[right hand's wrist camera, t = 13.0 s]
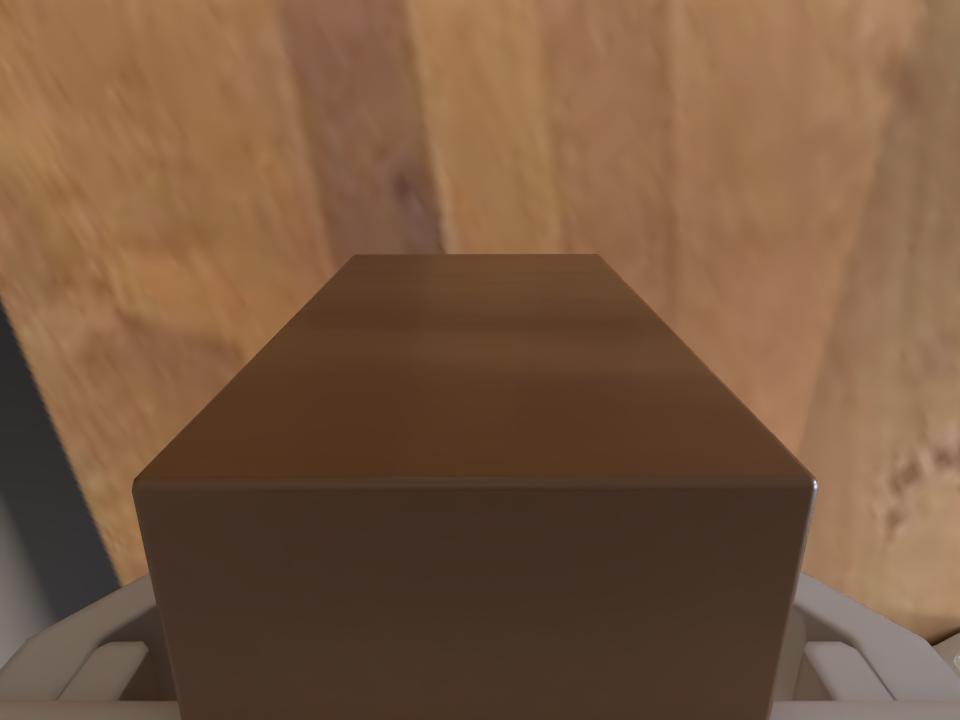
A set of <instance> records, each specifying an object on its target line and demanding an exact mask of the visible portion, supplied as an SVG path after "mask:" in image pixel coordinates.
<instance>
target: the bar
mask: <svg viewBox="0 0 960 720" xmlns="http://www.w3.org/2000/svg"><path fill="white" fill-rule="evenodd" d="M817 489H818V488H817V482H816V479H815V477H814V476H813V475H812V474H811V473H810V472H809V470H808V469H807V468H806V467H805V466H804V465H803V464H802V463H801V462H800V461H799V460H798V459H797V458H796V457H795V456H794V455H793V454H792V453H791V452H790V451H789V450H788V449H787V448H786V447H785V446H784V445H783V444H782V443H781V442H780V441H779V440H778V438H777V437H776V436H775V435H774V434H773V433H772V432H771V431H770V430H769V429H768V428H767V427H766V426H765V425H764V424H763V423H762V422H761V421H760V420H759V419H758V418H757V417H756V416H755V415H754V414H753V413H752V412H751V411H750V410H749V409H748V408H747V407H746V405H745V404H744V403H743V402H742V401H741V400H740V399H739V398H738V397H737V396H736V395H735V394H734V393H733V392H732V391H731V390H730V389H729V388H728V387H727V386H726V385H725V384H724V383H723V382H722V381H721V380H720V379H719V378H718V377H717V376H716V375H715V373H714V372H713V371H712V370H711V369H710V368H709V367H708V366H707V365H706V364H705V363H704V362H703V361H702V360H701V359H700V358H699V357H698V356H697V355H696V354H695V353H694V352H693V351H692V350H691V349H690V348H689V347H688V346H687V345H686V344H685V343H684V341H683V340H682V339H681V338H680V337H679V336H678V335H677V334H676V333H675V332H674V331H673V330H672V329H671V328H670V327H669V326H668V325H667V324H666V323H665V322H664V321H663V320H662V319H661V318H660V317H659V316H658V315H657V314H656V313H655V312H654V311H653V309H652V308H651V307H650V306H649V305H648V304H647V303H646V302H645V301H644V300H643V299H642V298H641V297H640V296H639V295H638V294H637V293H636V292H635V291H634V290H633V289H632V288H631V287H630V286H629V285H628V284H627V283H626V282H625V281H624V280H623V279H622V277H621V276H620V275H619V274H618V273H617V272H616V271H615V270H614V269H613V268H612V267H611V266H610V265H609V264H608V263H607V262H606V261H605V260H604V259H603V258H602V257H601V256H600V255H598V254H450V255H354V256H353V257H352V258H351V259H350V260H349V261H348V262H347V263H346V264H345V265H344V266H343V267H342V268H341V269H340V270H339V271H338V272H337V273H336V274H335V275H334V276H333V277H332V278H331V279H330V280H329V281H328V282H327V283H326V284H325V285H324V286H323V287H322V288H321V289H320V290H319V291H318V292H317V293H316V294H315V295H314V296H313V298H312V299H311V300H310V301H309V302H308V303H307V304H306V305H305V306H304V307H303V308H302V309H301V310H300V311H299V312H298V313H297V314H296V315H295V316H294V317H293V318H292V319H291V320H290V321H289V322H288V323H287V324H286V325H285V326H284V327H283V328H282V329H281V330H280V331H279V332H278V333H277V334H276V335H275V336H274V337H273V338H272V339H271V340H270V341H269V342H268V343H267V344H266V345H265V346H264V347H263V348H262V349H261V351H260V352H259V353H258V354H257V355H256V356H255V357H254V358H253V359H252V360H251V361H250V362H249V363H248V364H247V365H246V366H245V367H244V368H243V369H242V370H241V371H240V372H239V373H238V374H237V375H236V376H235V377H234V378H233V379H232V380H231V381H230V382H229V383H228V384H227V385H226V386H225V387H224V388H223V389H222V390H221V391H220V392H219V393H218V394H217V395H216V396H215V397H214V398H213V399H212V400H211V401H210V402H209V404H208V405H207V406H206V407H205V408H204V409H203V410H202V411H201V412H200V413H199V414H198V415H197V416H196V417H195V418H194V419H193V420H192V421H191V422H190V423H189V424H188V425H187V426H186V427H185V428H184V429H183V430H182V431H181V432H180V433H179V434H178V435H177V436H176V437H175V438H174V439H173V440H172V441H171V442H170V443H169V444H168V445H167V446H166V447H165V448H164V449H163V450H162V451H161V452H160V453H159V454H158V455H157V457H156V458H155V459H154V460H153V461H152V462H151V463H150V464H149V465H148V466H147V467H146V468H145V469H144V470H143V471H142V472H141V473H140V474H139V475H138V476H137V477H136V478H135V479H134V482H133V486H132V494H133V498H134V503H135V508H136V512H137V517H138V521H139V526H140V531H141V535H142V540H143V545H144V549H145V554H146V558H147V563H148V568H149V572H150V577H151V581H152V586H153V591H154V595H155V600H156V605H157V609H158V614H159V618H160V623H161V628H162V632H163V637H164V641H165V646H166V651H167V655H168V660H169V665H170V669H171V674H172V678H173V683H174V688H175V692H176V697H177V702H178V706H179V711H180V715H181V720H770V716H771V711H772V706H773V701H774V697H775V692H776V687H777V682H778V677H779V672H780V668H781V663H782V658H783V653H784V648H785V644H786V639H787V634H788V629H789V624H790V619H791V615H792V610H793V605H794V600H795V595H796V590H797V586H798V581H799V576H800V571H801V566H802V562H803V557H804V552H805V547H806V542H807V537H808V533H809V528H810V523H811V518H812V513H813V509H814V504H815V499H816V494H817Z"/></svg>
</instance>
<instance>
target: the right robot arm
mask: <svg viewBox="0 0 960 720" xmlns="http://www.w3.org/2000/svg"><path fill="white" fill-rule="evenodd" d="M0 720H181V715H180V711H179V706H178V702H177V697H176V692H175V688H174V683H173V678H172V674H171V669H170V665H169V660H168V655H167V651H166V646H165V641H164V637H163V632H162V628H161V623H160V618H159V614H158V609H157V605H156V600H155V595H154V591H153V586H152V581H151V577H150V573H148V574H146V575H144V576H142V577H141V578H139V579H137V580H135V581H133V582H131V583H130V584H128V585H126V586H124V587H122V588H120V589H119V590H117V591H115V592H113V593H111V594H109V595H108V596H106V597H104V598H102V599H100V600H98V601H96V602H95V603H93V604H91V605H89V606H87V607H85V608H84V609H82V610H80V611H78V612H76V613H74V614H73V615H71V616H69V617H67V618H65V619H63V620H62V621H60V622H58V623H56V624H54V625H52V626H51V627H49V628H47V629H45V630H43V631H41V632H40V633H38V634H36V635H34V636H32V637H30V638H29V639H27V640H26V641H25V643H24V644H23V645H22V646H21V647H20V648H19V649H18V651H17V652H16V653H15V654H14V655H13V656H12V657H11V658H10V660H9V661H8V662H7V663H6V664H5V665H4V666H3V668H2V669H1V670H0ZM770 720H960V633H958V634H956V635H954V636H952V637H950V638H948V639H946V640H944V641H943V642H941V643H939V644H937V645H934V646H931V645H930V644H929V643H928V642H927V641H926V640H925V639H923V638H921V637H920V636H918V635H916V634H914V633H912V632H910V631H909V630H907V629H905V628H903V627H901V626H900V625H898V624H896V623H894V622H892V621H890V620H889V619H887V618H885V617H883V616H881V615H880V614H878V613H876V612H874V611H872V610H871V609H869V608H867V607H865V606H863V605H861V604H860V603H858V602H856V601H854V600H852V599H851V598H849V597H847V596H845V595H843V594H842V593H840V592H838V591H836V590H834V589H832V588H831V587H829V586H827V585H825V584H823V583H822V582H820V581H818V580H816V579H814V578H813V577H811V576H809V575H807V574H805V573H803V572H802V571H800V576H799V581H798V586H797V590H796V595H795V600H794V605H793V610H792V615H791V619H790V624H789V629H788V634H787V639H786V644H785V648H784V653H783V658H782V663H781V668H780V672H779V677H778V682H777V687H776V692H775V697H774V701H773V706H772V711H771V716H770Z"/></svg>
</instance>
